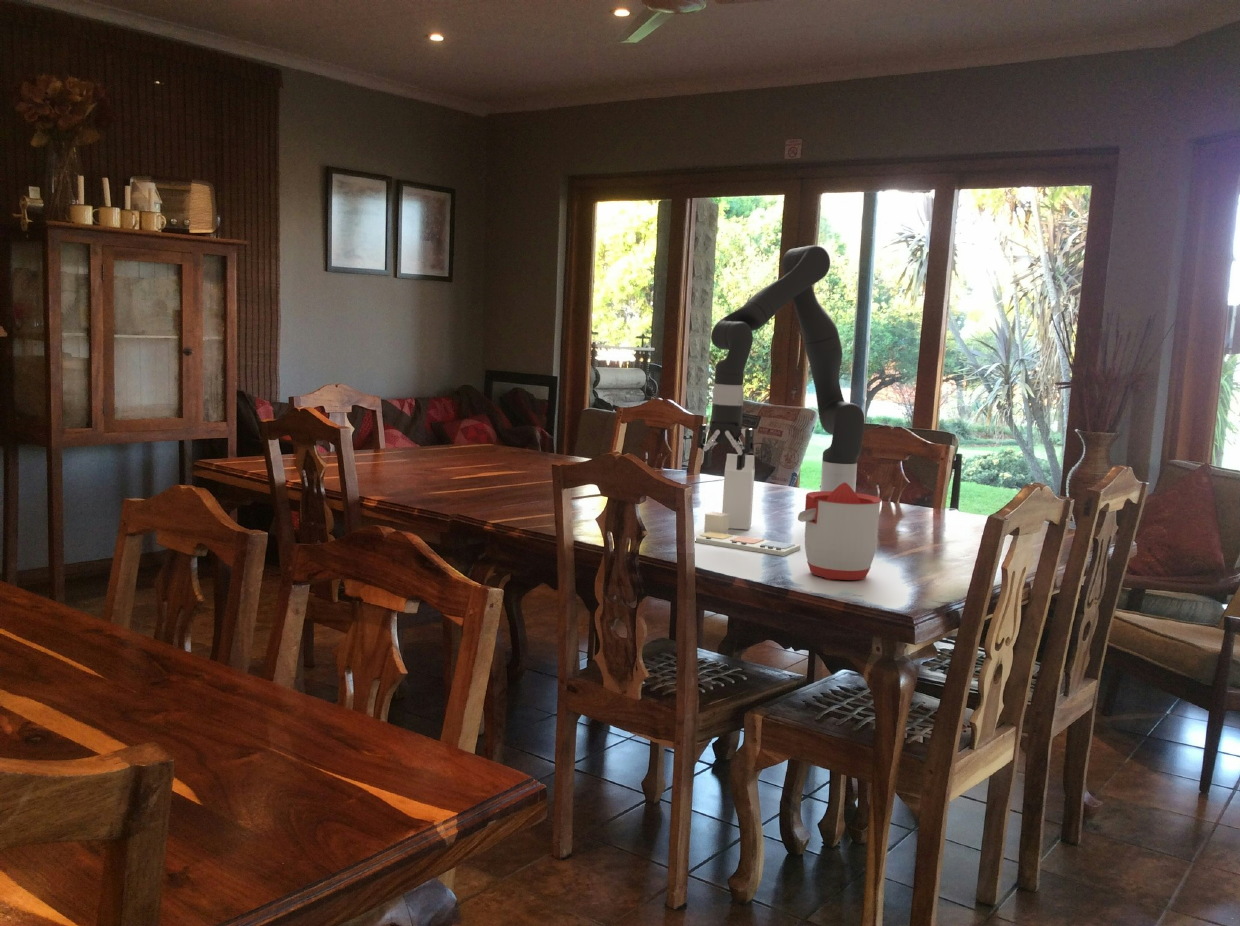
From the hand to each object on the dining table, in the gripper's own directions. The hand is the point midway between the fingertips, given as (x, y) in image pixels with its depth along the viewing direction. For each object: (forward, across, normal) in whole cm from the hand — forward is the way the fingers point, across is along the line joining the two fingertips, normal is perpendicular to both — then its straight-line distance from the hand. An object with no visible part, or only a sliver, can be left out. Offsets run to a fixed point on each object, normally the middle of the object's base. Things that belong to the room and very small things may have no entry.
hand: (723, 468), depth 266 cm
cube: (+17, +1, -1) cm, 17 cm away
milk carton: (+17, +1, -13) cm, 21 cm away
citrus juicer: (+17, -38, +25) cm, 49 cm away
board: (+17, -11, +8) cm, 22 cm away
